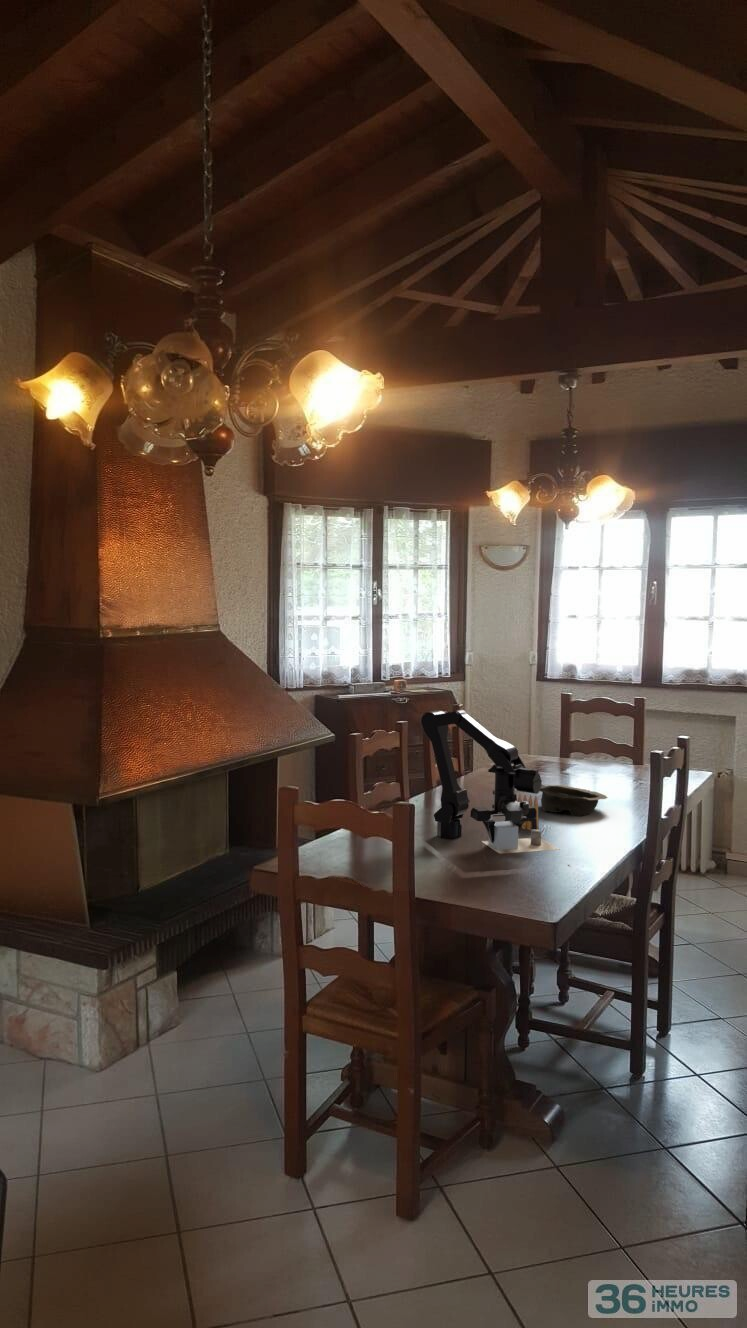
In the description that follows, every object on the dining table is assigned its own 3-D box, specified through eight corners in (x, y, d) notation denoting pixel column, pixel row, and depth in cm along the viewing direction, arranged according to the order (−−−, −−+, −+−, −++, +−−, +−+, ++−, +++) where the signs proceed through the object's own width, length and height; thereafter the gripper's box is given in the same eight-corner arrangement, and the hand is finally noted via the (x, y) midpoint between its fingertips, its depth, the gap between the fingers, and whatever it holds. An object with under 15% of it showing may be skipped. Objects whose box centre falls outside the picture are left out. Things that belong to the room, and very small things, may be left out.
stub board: (499, 857, 254) (499, 839, 254) (481, 845, 267) (481, 827, 266) (560, 853, 260) (560, 835, 259) (539, 841, 272) (540, 824, 272)
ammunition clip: (538, 833, 281) (539, 795, 280) (536, 834, 280) (537, 796, 279) (506, 828, 287) (507, 791, 286) (504, 829, 285) (505, 792, 284)
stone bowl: (524, 813, 306) (525, 786, 306) (545, 804, 329) (546, 778, 328) (596, 821, 295) (598, 793, 295) (614, 811, 317) (615, 785, 317)
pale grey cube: (497, 850, 258) (497, 827, 257) (488, 844, 264) (488, 822, 263) (517, 848, 260) (518, 826, 259) (508, 842, 266) (509, 821, 265)
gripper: (485, 796, 250) (484, 851, 251) (546, 793, 255) (545, 847, 257) (470, 788, 261) (469, 841, 262) (529, 785, 266) (527, 837, 267)
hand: (503, 841), depth 262 cm, fingers closed on pale grey cube, 6 cm apart
